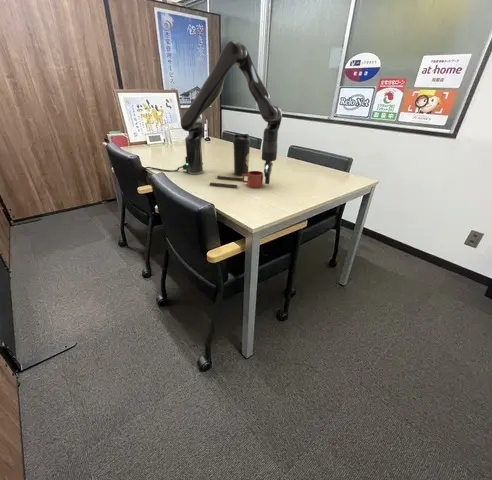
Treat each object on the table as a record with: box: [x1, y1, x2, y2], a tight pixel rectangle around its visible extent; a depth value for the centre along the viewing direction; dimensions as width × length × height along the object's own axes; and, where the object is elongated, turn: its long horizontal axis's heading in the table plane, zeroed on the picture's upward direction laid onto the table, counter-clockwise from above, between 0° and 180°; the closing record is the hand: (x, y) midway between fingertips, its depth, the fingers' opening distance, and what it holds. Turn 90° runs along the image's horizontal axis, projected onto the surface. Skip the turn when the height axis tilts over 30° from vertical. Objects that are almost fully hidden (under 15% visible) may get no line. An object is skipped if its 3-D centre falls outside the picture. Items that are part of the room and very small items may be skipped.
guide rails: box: [209, 175, 242, 189], centre depth 147 cm, size 15×14×2 cm
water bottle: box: [232, 133, 252, 177], centre depth 156 cm, size 10×10×23 cm
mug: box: [241, 170, 264, 189], centre depth 142 cm, size 11×8×7 cm
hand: (267, 183), depth 141 cm, fingers closed
